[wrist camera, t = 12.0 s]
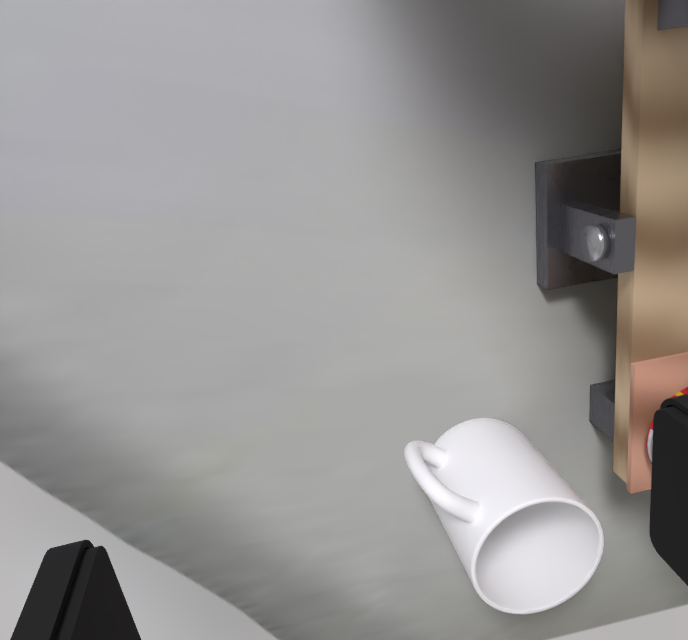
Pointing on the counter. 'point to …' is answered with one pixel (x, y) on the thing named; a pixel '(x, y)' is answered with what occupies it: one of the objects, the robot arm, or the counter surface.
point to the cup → (508, 515)
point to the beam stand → (584, 238)
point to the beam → (652, 229)
